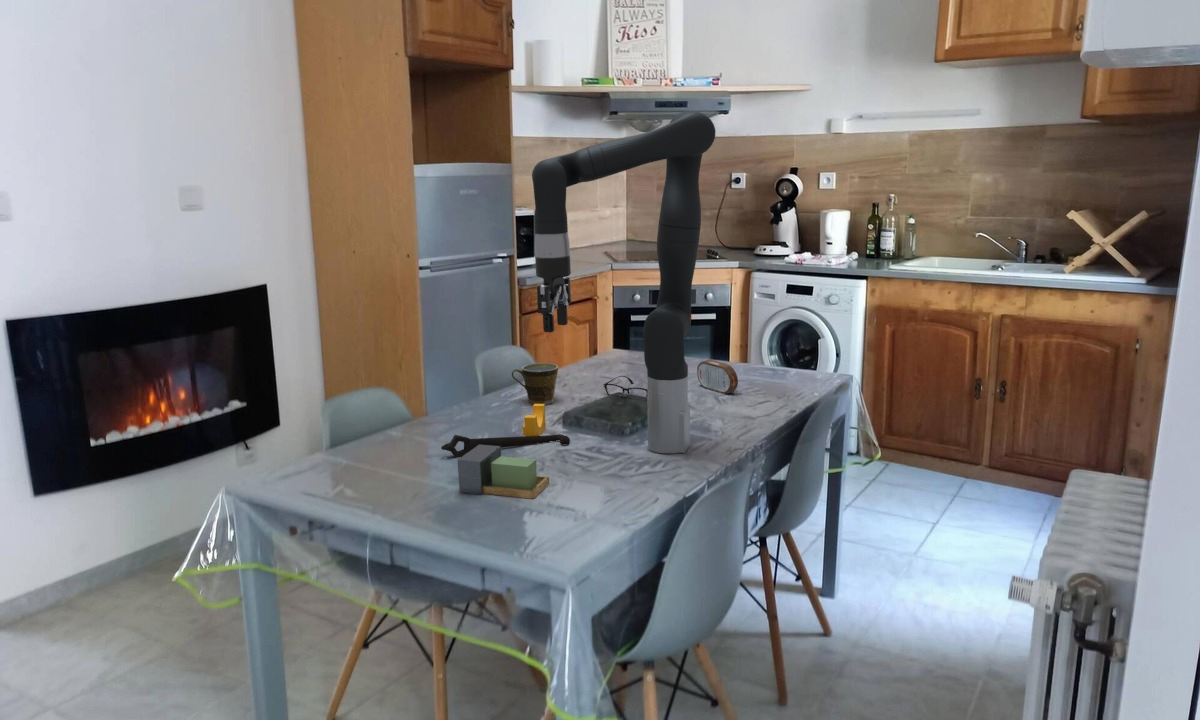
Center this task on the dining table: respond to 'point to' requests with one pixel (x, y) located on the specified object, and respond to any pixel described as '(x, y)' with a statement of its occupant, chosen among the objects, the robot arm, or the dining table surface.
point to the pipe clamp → (535, 421)
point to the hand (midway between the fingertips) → (555, 328)
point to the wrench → (500, 442)
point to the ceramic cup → (539, 382)
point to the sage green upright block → (514, 473)
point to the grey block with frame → (489, 474)
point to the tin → (717, 376)
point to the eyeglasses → (622, 387)
